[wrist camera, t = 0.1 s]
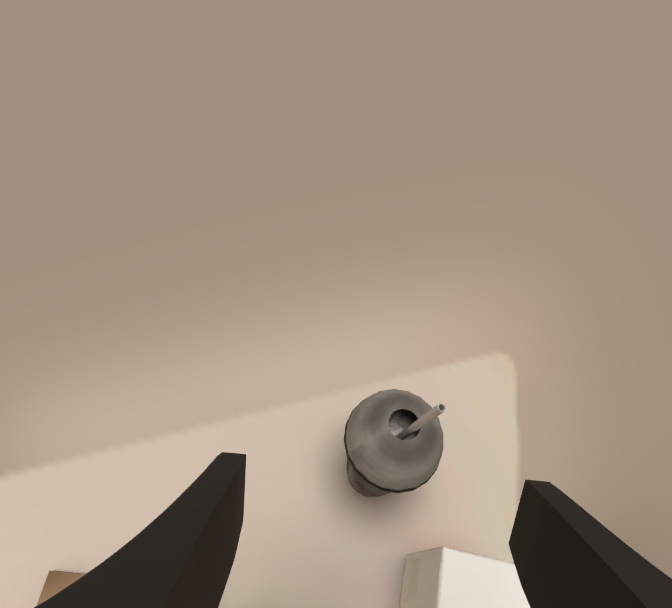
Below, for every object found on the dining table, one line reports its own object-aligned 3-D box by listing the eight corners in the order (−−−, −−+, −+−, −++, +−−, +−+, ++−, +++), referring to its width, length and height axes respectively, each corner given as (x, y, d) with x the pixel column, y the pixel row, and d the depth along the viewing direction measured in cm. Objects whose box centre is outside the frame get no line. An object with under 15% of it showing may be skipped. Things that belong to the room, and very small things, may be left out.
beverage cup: (344, 423, 45) (375, 329, 28) (415, 445, 44) (491, 364, 27) (322, 498, 41) (342, 442, 24) (399, 524, 40) (476, 486, 23)
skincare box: (472, 569, 39) (535, 567, 29) (468, 628, 37) (536, 649, 26) (403, 552, 39) (442, 544, 29) (396, 609, 37) (435, 622, 27)
